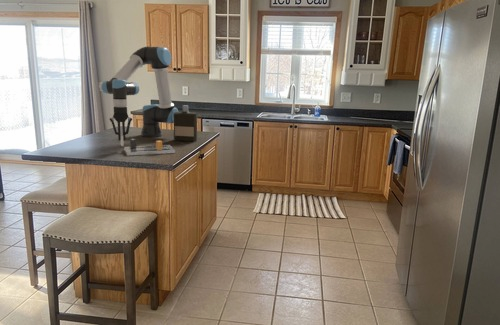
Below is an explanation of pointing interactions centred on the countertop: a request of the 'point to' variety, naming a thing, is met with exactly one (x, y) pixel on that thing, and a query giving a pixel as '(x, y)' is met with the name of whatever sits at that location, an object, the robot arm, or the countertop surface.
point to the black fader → (133, 143)
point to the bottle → (185, 125)
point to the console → (148, 150)
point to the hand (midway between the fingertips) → (122, 145)
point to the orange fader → (159, 145)
